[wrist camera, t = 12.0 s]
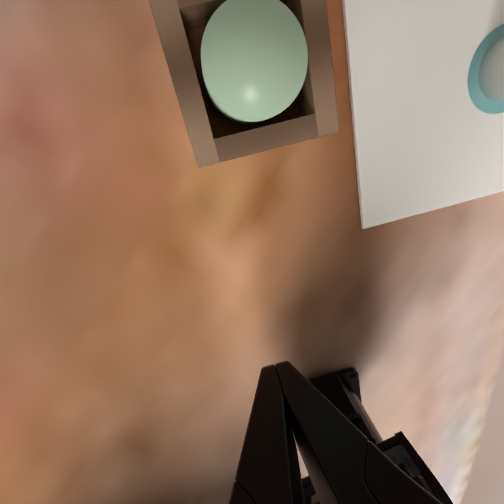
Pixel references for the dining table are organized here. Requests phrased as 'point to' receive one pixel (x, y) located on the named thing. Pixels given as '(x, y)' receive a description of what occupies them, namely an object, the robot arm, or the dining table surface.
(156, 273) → the dining table surface
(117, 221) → the dining table surface
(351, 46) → the paper
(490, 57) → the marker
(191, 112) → the button housing
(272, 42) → the button
